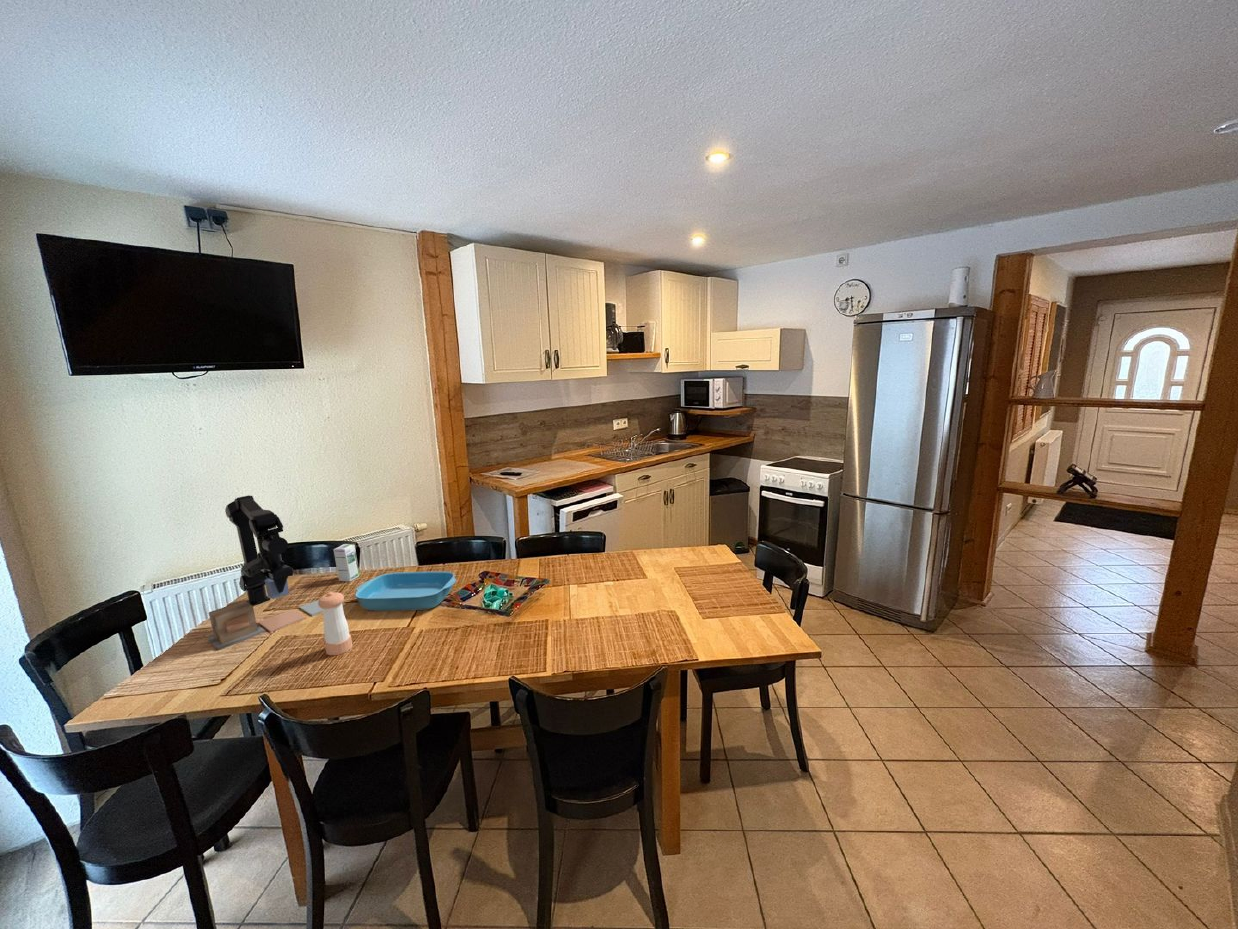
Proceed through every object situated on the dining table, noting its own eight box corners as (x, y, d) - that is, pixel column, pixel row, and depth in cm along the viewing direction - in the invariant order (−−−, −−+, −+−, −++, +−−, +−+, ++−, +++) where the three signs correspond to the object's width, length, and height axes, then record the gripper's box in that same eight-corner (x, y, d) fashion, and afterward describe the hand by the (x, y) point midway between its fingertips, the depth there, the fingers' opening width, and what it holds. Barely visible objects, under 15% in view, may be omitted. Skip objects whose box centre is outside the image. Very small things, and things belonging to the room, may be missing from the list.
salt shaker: (334, 658, 151) (324, 600, 147) (321, 651, 154) (311, 594, 151) (357, 646, 157) (348, 590, 153) (344, 640, 160) (335, 585, 157)
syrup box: (350, 581, 206) (345, 549, 203) (338, 581, 207) (333, 548, 204) (360, 576, 212) (355, 544, 209) (348, 575, 213) (343, 543, 210)
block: (267, 596, 173) (264, 580, 172) (283, 590, 177) (280, 574, 176) (273, 599, 170) (270, 583, 169) (289, 593, 174) (286, 577, 173)
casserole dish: (344, 615, 177) (341, 597, 176) (377, 588, 199) (375, 571, 198) (444, 614, 175) (442, 595, 174) (466, 586, 197) (464, 569, 196)
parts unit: (207, 640, 164) (201, 613, 163) (253, 623, 175) (248, 597, 173) (218, 650, 158) (211, 622, 156) (265, 632, 168) (259, 605, 166)
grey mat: (299, 608, 184) (299, 606, 184) (330, 596, 193) (330, 595, 193) (312, 616, 178) (311, 614, 178) (343, 603, 186) (343, 602, 186)
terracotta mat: (259, 623, 174) (258, 622, 174) (293, 610, 183) (293, 609, 183) (270, 632, 168) (270, 630, 168) (306, 618, 176) (305, 617, 176)
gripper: (232, 551, 170) (241, 593, 173) (251, 561, 159) (260, 606, 162) (269, 541, 178) (277, 582, 181) (290, 550, 167) (298, 593, 170)
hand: (277, 590), depth 173 cm, fingers closed on block, 5 cm apart
